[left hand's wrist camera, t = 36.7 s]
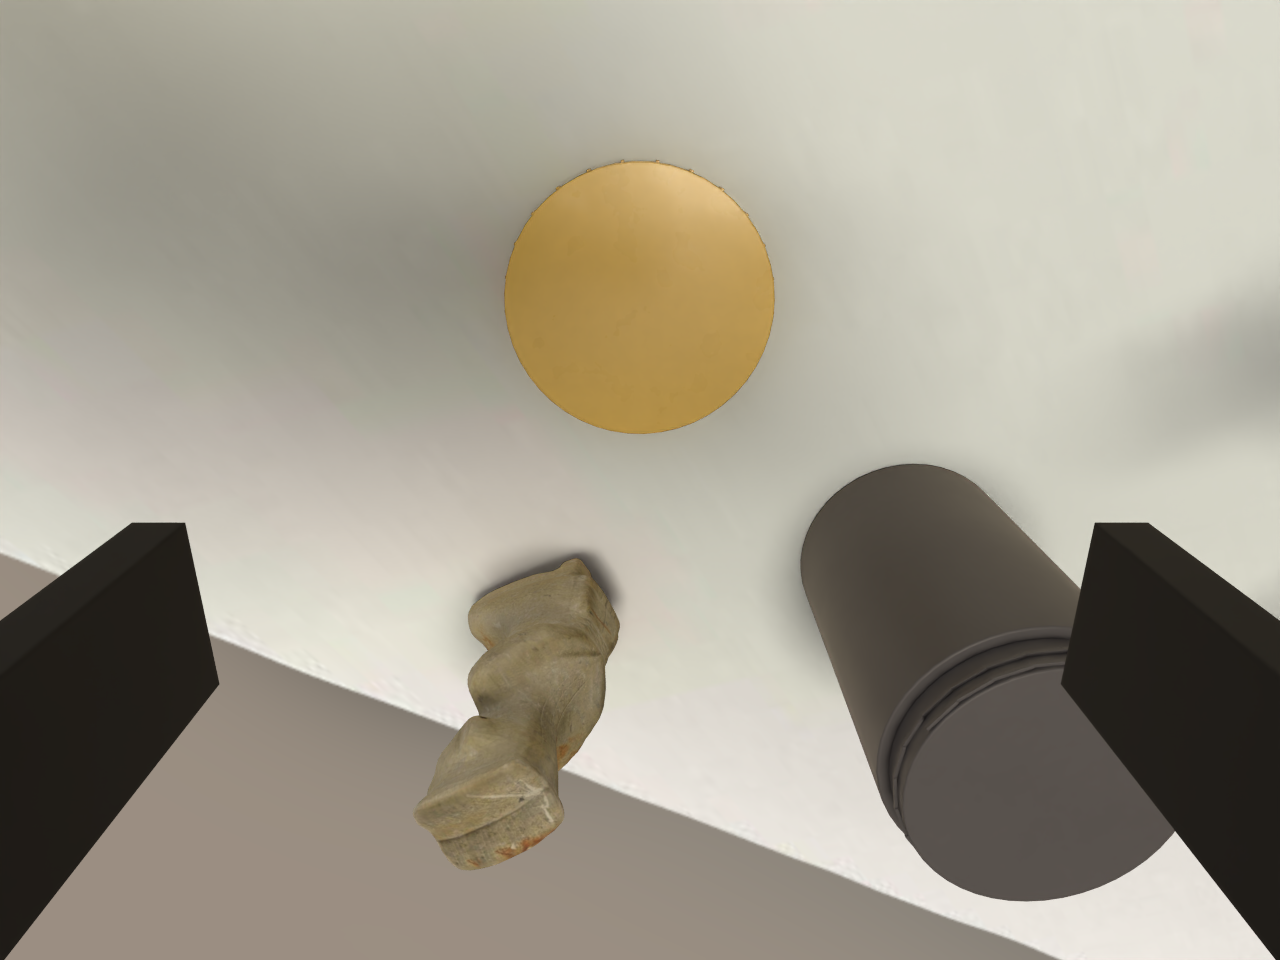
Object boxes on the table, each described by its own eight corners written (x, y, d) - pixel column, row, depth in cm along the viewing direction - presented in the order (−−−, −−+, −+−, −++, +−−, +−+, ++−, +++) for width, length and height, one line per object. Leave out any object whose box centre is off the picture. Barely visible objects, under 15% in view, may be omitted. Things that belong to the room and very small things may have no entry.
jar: (1047, 541, 43) (1281, 767, 27) (905, 679, 45) (1042, 954, 30) (898, 423, 40) (1059, 596, 25) (758, 576, 43) (825, 816, 28)
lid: (708, 109, 35) (711, 107, 34) (807, 360, 39) (816, 370, 37) (462, 232, 37) (453, 236, 35) (581, 460, 41) (578, 474, 39)
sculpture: (457, 582, 43) (371, 792, 29) (586, 527, 42) (559, 718, 28) (512, 671, 45) (454, 908, 31) (636, 621, 44) (634, 843, 30)
